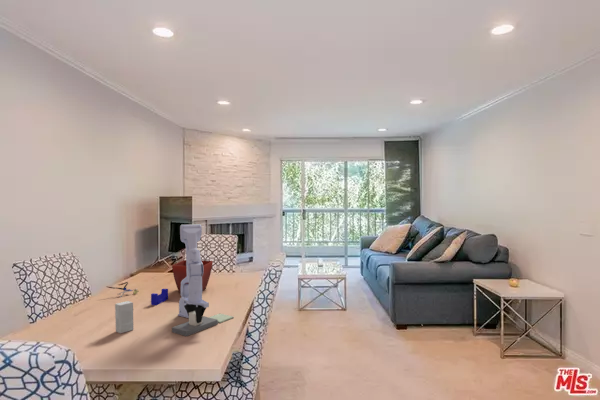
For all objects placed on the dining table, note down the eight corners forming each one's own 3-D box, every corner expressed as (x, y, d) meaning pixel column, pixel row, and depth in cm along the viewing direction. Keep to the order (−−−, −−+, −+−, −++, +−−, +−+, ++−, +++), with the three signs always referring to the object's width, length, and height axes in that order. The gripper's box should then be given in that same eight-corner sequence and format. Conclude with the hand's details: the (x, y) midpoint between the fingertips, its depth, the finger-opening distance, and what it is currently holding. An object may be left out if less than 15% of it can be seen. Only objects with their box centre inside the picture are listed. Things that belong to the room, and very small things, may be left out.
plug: (188, 328, 170) (188, 312, 170) (195, 325, 173) (195, 310, 173) (195, 330, 168) (195, 314, 168) (202, 327, 171) (202, 311, 171)
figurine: (138, 307, 225) (101, 301, 218) (139, 298, 233) (103, 292, 225) (143, 292, 223) (106, 286, 215) (144, 284, 231) (108, 277, 223)
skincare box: (128, 327, 171) (128, 300, 170) (133, 329, 168) (133, 302, 168) (115, 331, 166) (114, 303, 166) (119, 333, 163) (119, 305, 163)
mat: (206, 319, 182) (206, 318, 182) (219, 314, 189) (219, 313, 189) (220, 323, 177) (220, 321, 177) (233, 317, 184) (233, 316, 184)
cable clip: (160, 299, 218) (160, 288, 217) (168, 299, 217) (168, 288, 217) (148, 305, 206) (148, 293, 206) (156, 305, 205) (156, 294, 205)
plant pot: (213, 287, 245) (213, 260, 245) (202, 294, 226) (202, 266, 226) (184, 286, 247) (184, 259, 247) (171, 294, 228) (171, 265, 228)
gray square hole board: (171, 332, 165) (171, 327, 165) (203, 320, 180) (203, 316, 180) (186, 336, 160) (186, 331, 160) (217, 324, 176) (217, 319, 175)
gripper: (176, 290, 171) (177, 320, 171) (200, 294, 163) (200, 327, 163) (189, 286, 177) (189, 316, 177) (212, 291, 169) (212, 322, 169)
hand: (195, 321), depth 170 cm, fingers closed on plug, 4 cm apart
